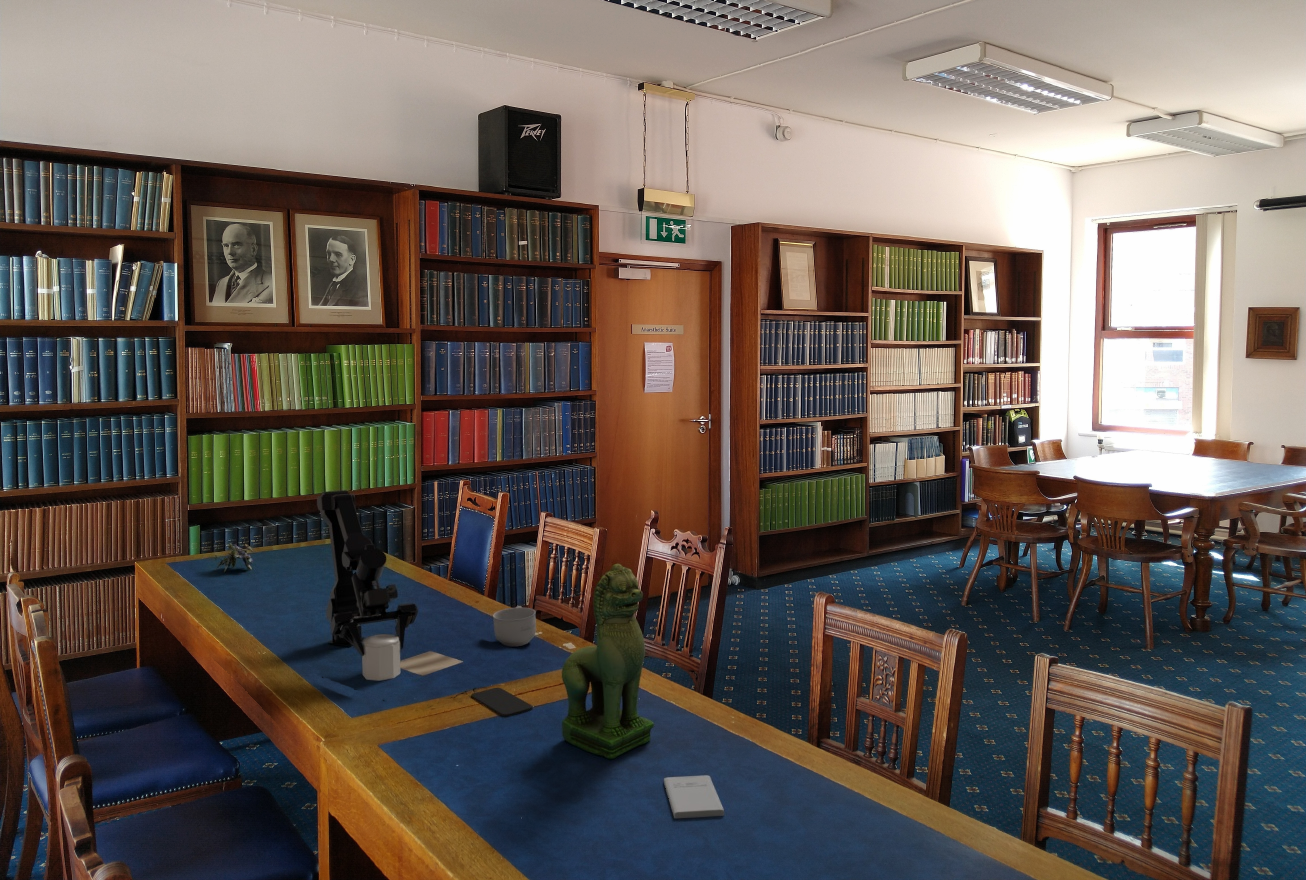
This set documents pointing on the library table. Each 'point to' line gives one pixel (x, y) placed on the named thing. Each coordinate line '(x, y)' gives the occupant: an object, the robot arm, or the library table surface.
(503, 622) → the teacup
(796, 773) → the library table surface
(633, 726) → the lion statue
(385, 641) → the white faceted jar
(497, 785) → the library table surface
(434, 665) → the cork pad
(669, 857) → the library table surface
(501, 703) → the phone
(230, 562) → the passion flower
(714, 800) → the external hard drive
